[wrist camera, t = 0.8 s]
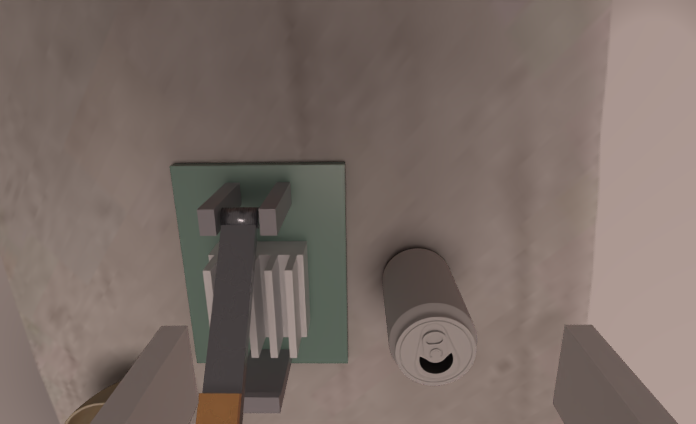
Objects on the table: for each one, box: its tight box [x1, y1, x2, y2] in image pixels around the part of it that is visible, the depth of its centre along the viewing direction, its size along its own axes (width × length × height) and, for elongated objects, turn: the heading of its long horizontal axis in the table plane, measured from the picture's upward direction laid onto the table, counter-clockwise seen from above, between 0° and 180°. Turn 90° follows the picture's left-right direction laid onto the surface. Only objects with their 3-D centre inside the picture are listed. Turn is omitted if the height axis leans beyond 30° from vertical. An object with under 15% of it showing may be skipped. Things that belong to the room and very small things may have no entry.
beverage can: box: [382, 248, 477, 386], centre depth 37 cm, size 6×6×12 cm
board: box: [170, 162, 348, 413], centre depth 39 cm, size 20×15×8 cm
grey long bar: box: [196, 207, 260, 424], centre depth 31 cm, size 16×3×2 cm
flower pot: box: [65, 381, 121, 424], centre depth 45 cm, size 10×10×7 cm
